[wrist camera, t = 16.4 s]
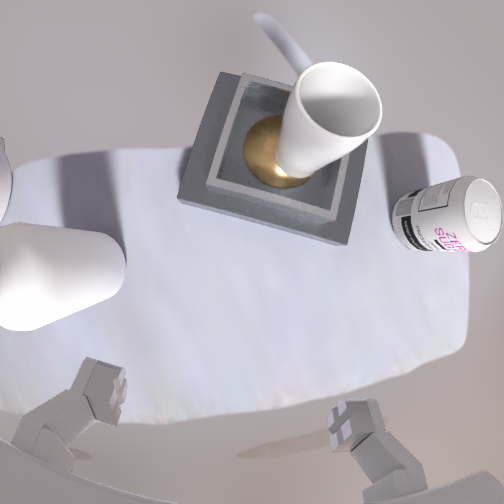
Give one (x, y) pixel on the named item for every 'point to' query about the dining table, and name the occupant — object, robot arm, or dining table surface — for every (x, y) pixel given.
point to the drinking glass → (326, 118)
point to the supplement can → (449, 216)
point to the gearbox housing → (265, 166)
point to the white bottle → (54, 273)
